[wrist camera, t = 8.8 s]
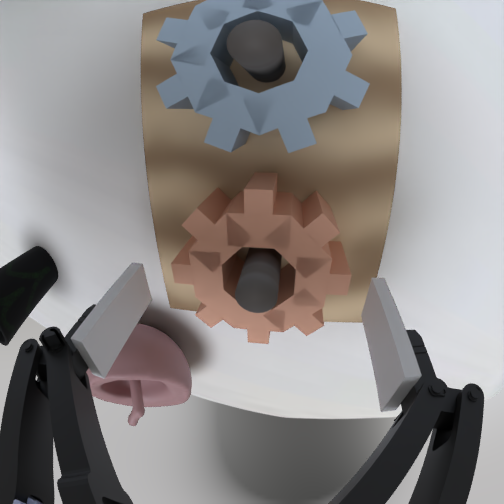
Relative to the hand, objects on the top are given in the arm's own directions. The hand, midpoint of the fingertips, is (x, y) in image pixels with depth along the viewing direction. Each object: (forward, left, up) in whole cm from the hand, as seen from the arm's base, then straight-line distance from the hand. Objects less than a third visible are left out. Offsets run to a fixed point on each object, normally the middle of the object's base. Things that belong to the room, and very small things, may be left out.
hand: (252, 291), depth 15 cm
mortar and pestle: (+14, -13, -8) cm, 21 cm away
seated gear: (-13, 0, -6) cm, 14 cm away
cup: (+5, -29, -8) cm, 30 cm away
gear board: (-6, 0, -8) cm, 9 cm away
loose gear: (0, 0, -6) cm, 6 cm away
